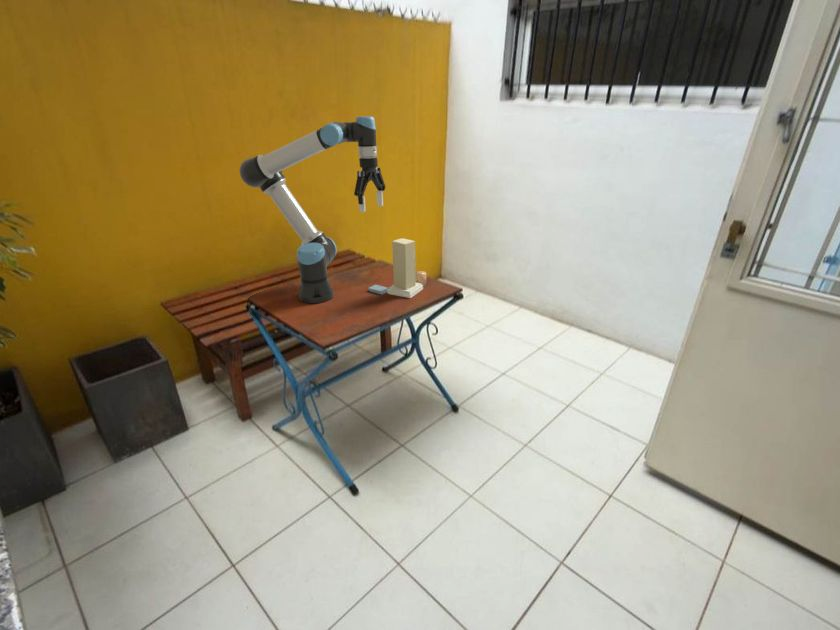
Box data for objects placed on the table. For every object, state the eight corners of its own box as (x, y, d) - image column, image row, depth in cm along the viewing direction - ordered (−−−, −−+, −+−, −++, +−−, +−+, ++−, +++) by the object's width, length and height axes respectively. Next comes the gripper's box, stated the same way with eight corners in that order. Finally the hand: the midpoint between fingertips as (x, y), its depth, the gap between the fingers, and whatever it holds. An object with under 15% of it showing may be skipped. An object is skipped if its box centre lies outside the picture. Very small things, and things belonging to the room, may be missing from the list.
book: (368, 291, 200) (368, 287, 199) (375, 288, 204) (375, 284, 203) (381, 295, 196) (381, 291, 195) (388, 291, 199) (388, 287, 199)
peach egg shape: (414, 285, 205) (413, 273, 202) (419, 282, 209) (418, 270, 206) (423, 287, 203) (423, 275, 200) (428, 283, 207) (428, 271, 204)
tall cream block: (417, 285, 197) (416, 240, 188) (406, 290, 192) (404, 244, 183) (404, 281, 202) (403, 237, 193) (393, 285, 197) (391, 241, 188)
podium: (387, 293, 196) (387, 288, 195) (400, 284, 206) (400, 279, 205) (410, 298, 191) (410, 292, 190) (423, 289, 201) (423, 283, 199)
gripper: (357, 160, 168) (362, 215, 177) (391, 154, 187) (394, 204, 196) (342, 160, 171) (347, 213, 180) (377, 154, 191) (380, 202, 200)
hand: (371, 208), depth 188 cm, fingers open, 13 cm apart
